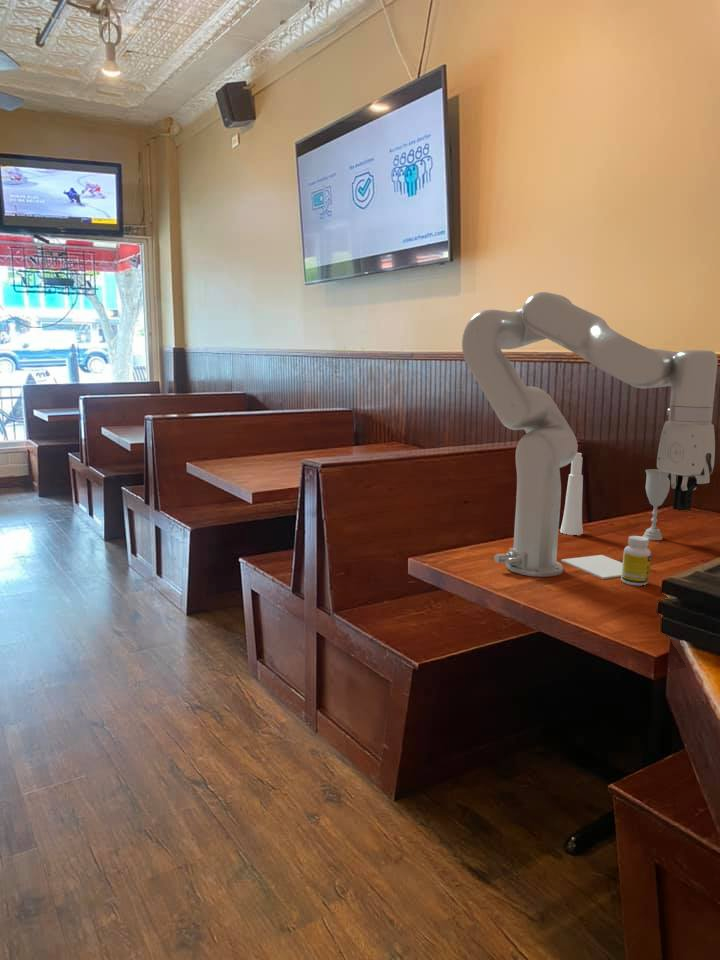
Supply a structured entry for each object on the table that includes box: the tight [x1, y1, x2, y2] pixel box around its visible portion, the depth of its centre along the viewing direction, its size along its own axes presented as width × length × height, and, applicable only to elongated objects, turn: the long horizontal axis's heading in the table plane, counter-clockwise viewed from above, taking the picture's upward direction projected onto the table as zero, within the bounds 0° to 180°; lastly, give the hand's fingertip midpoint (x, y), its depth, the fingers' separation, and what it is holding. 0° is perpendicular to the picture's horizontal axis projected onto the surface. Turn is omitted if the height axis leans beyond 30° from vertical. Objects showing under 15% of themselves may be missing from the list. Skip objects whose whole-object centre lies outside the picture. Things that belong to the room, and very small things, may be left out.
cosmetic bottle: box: [559, 452, 584, 536], centre depth 188 cm, size 6×6×22 cm
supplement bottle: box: [620, 535, 652, 587], centre depth 148 cm, size 5×5×10 cm
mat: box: [560, 554, 623, 580], centre depth 160 cm, size 12×14×1 cm
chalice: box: [642, 468, 671, 541], centre depth 186 cm, size 7×7×18 cm
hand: (681, 509), depth 137 cm, fingers closed
